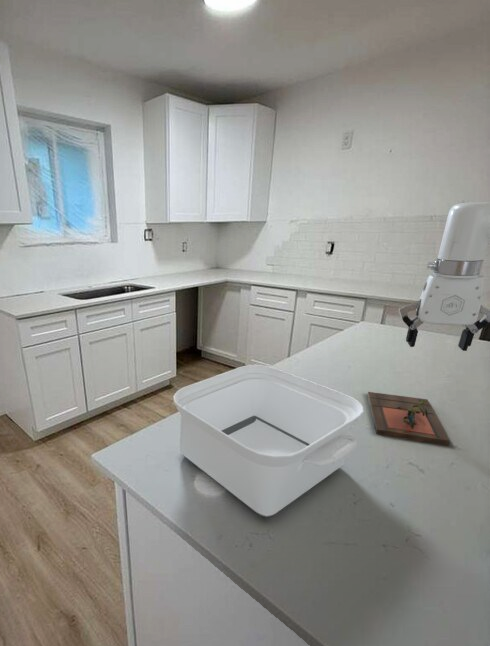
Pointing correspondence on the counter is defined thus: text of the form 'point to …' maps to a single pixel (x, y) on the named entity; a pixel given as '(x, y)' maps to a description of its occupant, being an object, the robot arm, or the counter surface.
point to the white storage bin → (265, 433)
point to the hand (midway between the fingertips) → (435, 346)
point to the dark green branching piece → (413, 412)
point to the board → (392, 422)
